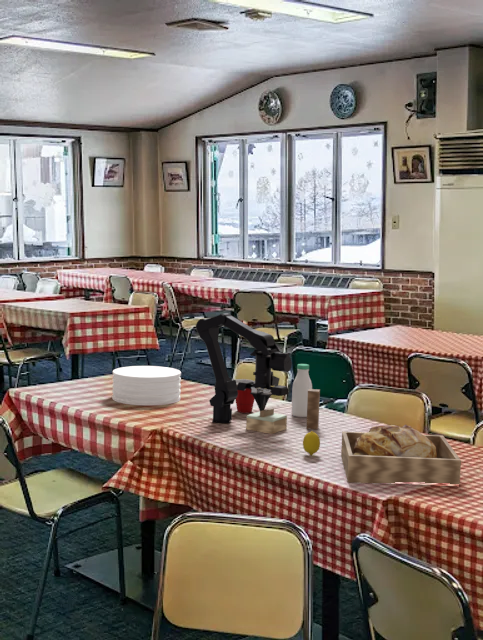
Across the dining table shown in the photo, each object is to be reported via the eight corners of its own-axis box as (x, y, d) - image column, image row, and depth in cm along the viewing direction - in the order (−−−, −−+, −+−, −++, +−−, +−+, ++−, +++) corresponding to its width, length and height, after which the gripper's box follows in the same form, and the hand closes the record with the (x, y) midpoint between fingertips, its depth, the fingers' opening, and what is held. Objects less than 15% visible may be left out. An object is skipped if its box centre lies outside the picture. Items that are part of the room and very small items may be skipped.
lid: (246, 417, 332) (246, 409, 332) (260, 413, 340) (261, 405, 340) (272, 422, 326) (273, 414, 326) (286, 417, 335) (287, 409, 334)
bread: (344, 462, 298) (342, 416, 296) (429, 458, 298) (428, 412, 296) (353, 485, 274) (352, 436, 272) (446, 481, 273) (445, 431, 272)
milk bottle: (309, 418, 354) (312, 366, 352) (289, 416, 356) (291, 365, 354) (312, 414, 362) (314, 363, 360) (292, 412, 363) (294, 362, 361)
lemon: (301, 453, 302) (302, 429, 301) (318, 453, 302) (319, 429, 301) (303, 457, 296) (304, 433, 295) (320, 457, 297) (321, 433, 296)
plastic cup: (247, 415, 355) (248, 385, 354) (225, 411, 362) (226, 381, 360) (264, 411, 364) (265, 381, 362) (242, 407, 370) (243, 377, 369)
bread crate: (347, 482, 270) (348, 455, 269) (341, 455, 300) (342, 431, 299) (459, 487, 268) (461, 460, 268) (441, 459, 299) (443, 435, 298)
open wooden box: (246, 429, 332) (246, 417, 332) (260, 424, 341) (260, 413, 340) (272, 434, 327) (272, 422, 326) (286, 428, 335) (286, 417, 335)
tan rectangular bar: (306, 428, 336) (307, 390, 335) (307, 426, 340) (309, 388, 339) (317, 429, 336) (318, 391, 334) (318, 427, 340) (320, 389, 338)
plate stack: (193, 398, 387) (194, 371, 385) (152, 408, 363) (152, 380, 362) (141, 389, 402) (141, 363, 400) (98, 399, 378) (98, 371, 377)
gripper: (296, 369, 334) (295, 411, 336) (253, 363, 344) (251, 404, 346) (281, 373, 325) (279, 416, 327) (236, 367, 335) (235, 409, 337)
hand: (261, 411), depth 334 cm, fingers closed
